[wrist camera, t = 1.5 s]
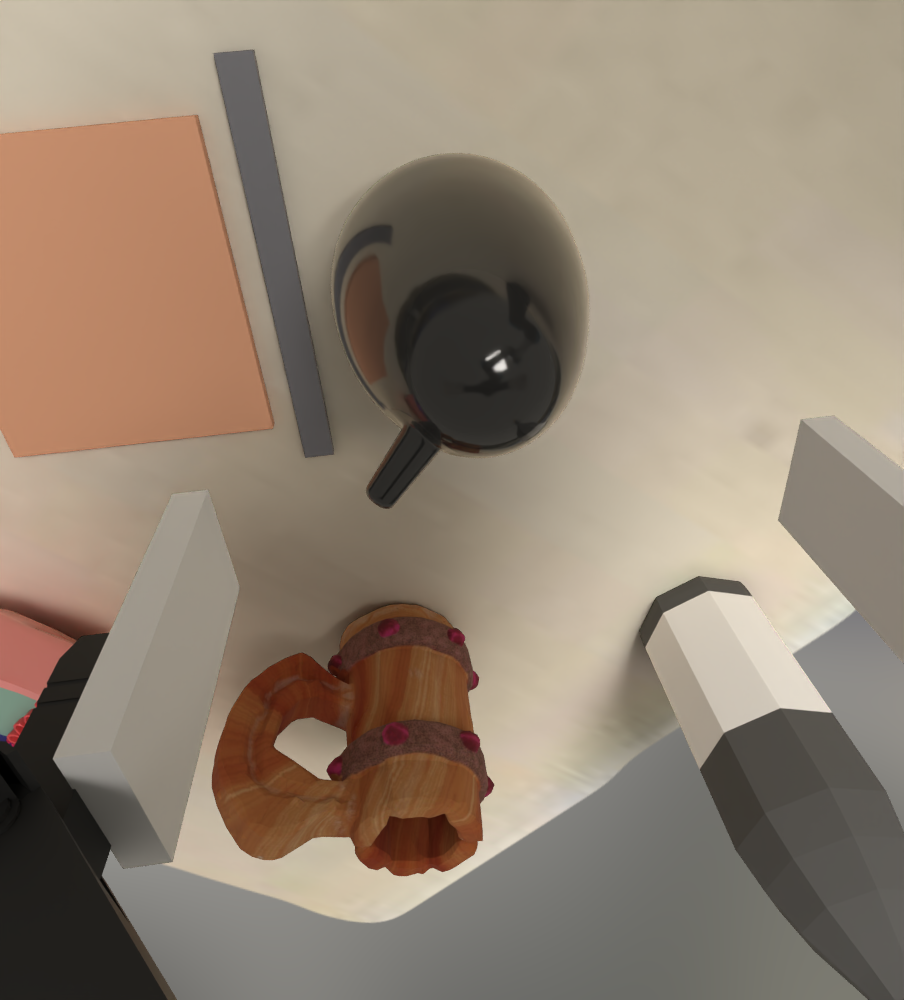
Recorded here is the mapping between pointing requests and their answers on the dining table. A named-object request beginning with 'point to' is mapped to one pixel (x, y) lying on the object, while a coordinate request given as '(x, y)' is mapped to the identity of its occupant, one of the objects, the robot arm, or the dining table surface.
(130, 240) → the mat
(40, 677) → the cell model
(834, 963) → the wine bottle
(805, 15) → the dining table surface
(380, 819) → the mug
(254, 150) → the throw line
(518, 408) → the pump dispenser
